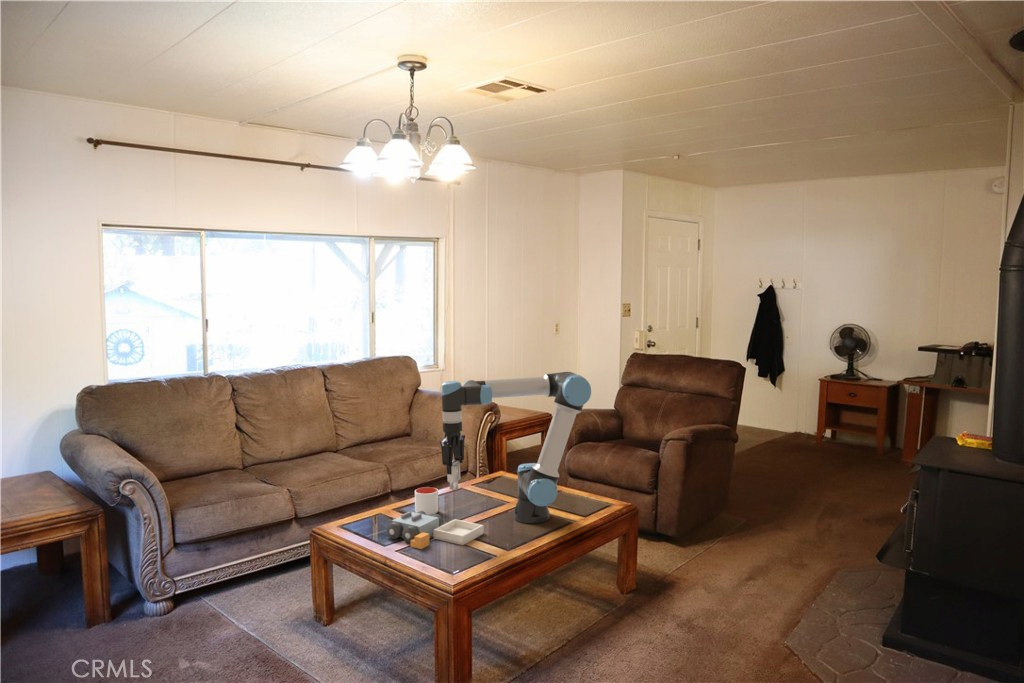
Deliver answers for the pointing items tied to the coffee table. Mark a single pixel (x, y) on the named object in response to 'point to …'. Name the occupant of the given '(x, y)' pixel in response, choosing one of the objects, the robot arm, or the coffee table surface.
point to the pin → (455, 475)
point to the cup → (426, 500)
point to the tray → (458, 531)
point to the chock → (420, 541)
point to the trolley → (413, 525)
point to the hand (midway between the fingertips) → (454, 480)
